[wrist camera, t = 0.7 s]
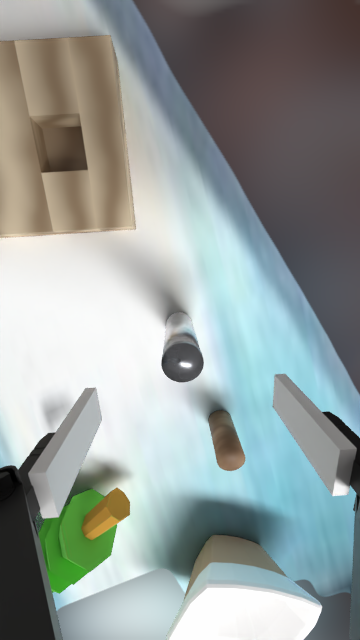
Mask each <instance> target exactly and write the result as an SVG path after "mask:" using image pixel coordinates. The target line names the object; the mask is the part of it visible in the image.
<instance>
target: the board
mask: <svg viewBox="0 0 360 640" xmlns="http://www.w3.org/2000/svg"><path fill="white" fill-rule="evenodd" d="M133 229H136V224H135V215H134V206H133V197H132V188H131V179H130V170H129V161H128V152H127V142H126V133H125V124H124V115H123V106H122V97H121V88H120V79H119V69H118V60H117V57H116V53H115V50H114V46H113V43H112V39H111V36H110V35H105V36H87V37H69V38H51V39H33V40H15V41H0V238H10V237H25V236H40V235H56V234H71V233H87V232H102V231H117V230H133Z"/></svg>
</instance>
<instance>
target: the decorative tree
mask: <svg viewBox="0 0 360 640" xmlns="http://www.w3.org/2000/svg"><path fill="white" fill-rule="evenodd" d="M129 515H130V502H129V500H128V498H127V497H126V495H125V494H124V492H122V491H121V490H120V489H118V488H116V489H114V490H113V491H111V492H110V493H109V494H108V495H107V496H106V497H104V496H102V495H101V494H100V493H98V492H97V491H95V490H94V489H89V490H87V491H85V492H82V493H80V494H78V495H75V496H73V497H72V499H71V501H70V504H69V505H66V506H64V507H63V509H62V511H61V513H60V516H59V517H56V518H45V521H44V523H43V525H42V527H41V529H40V531H39V533H38V534H39V538H40V543H41V547H42V551H43V556H44V560H45V564H46V569H47V573H48V577H49V581H50V586H51V590H52V593H53V592H57V593H59V594H60V593H61V592H62V591H63V590H65V589H66V588H67V587H68V586H70V585H71V584H73V585H74V584H75V583H76V582H77V581H79V580H80V579H81V578H82V577H84V576H85V575H86V574H87V573H89V572H91V571H92V570H93V569H94V568H95V567H97V566H98V565H99V564H100V563H102V562H103V561H104V560H105V559H107V558H108V557H109V556H110V555H111V552H112V547H113V542H114V538H115V533H116V528H117V523H119V522H120V521H121V520H123V519H124V518H126V517H127V516H129Z"/></svg>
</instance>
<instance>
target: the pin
mask: <svg viewBox="0 0 360 640" xmlns="http://www.w3.org/2000/svg"><path fill="white" fill-rule="evenodd" d="M203 364H204V361H203V357H202V353H201V351H200V348H199V345H198V341H197V338H196V334H195V331H194V327H193V324H192V320H191V318H190V317H189V316H188V315H187V314H185V313H183V312H176V313H173V314H172V315H170V316H169V318H168V319H167V322H166V331H165V340H164V349H163V355H162V369H163V372H164V373H165V375H166V376H167V377H168V378H170V379H171V380H173V381H176V382H188V381H191V380H193V379H195V378H196V377H197V376H198V375H199V374H200V373H201V371H202V369H203Z"/></svg>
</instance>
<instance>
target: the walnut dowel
mask: <svg viewBox="0 0 360 640" xmlns="http://www.w3.org/2000/svg"><path fill="white" fill-rule="evenodd" d="M209 426H210V431H211V435H212V440H213V445H214V449H215V454H216V459H217V463H218V465H219V467H220V468H222V469H224V470H227V471H233V470H237V469H239V468H240V467H241V466H242V465H243V464H244V462H245V455H244V452H243V449H242V447H241V444H240V441H239V438H238V435H237V433H236V430H235V427H234V424H233V422H232V419H231V416H230V414H229V413H228V412H226V411H223V410H218V411H215V412H213V413H212V414H211V415H210V417H209Z"/></svg>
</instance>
